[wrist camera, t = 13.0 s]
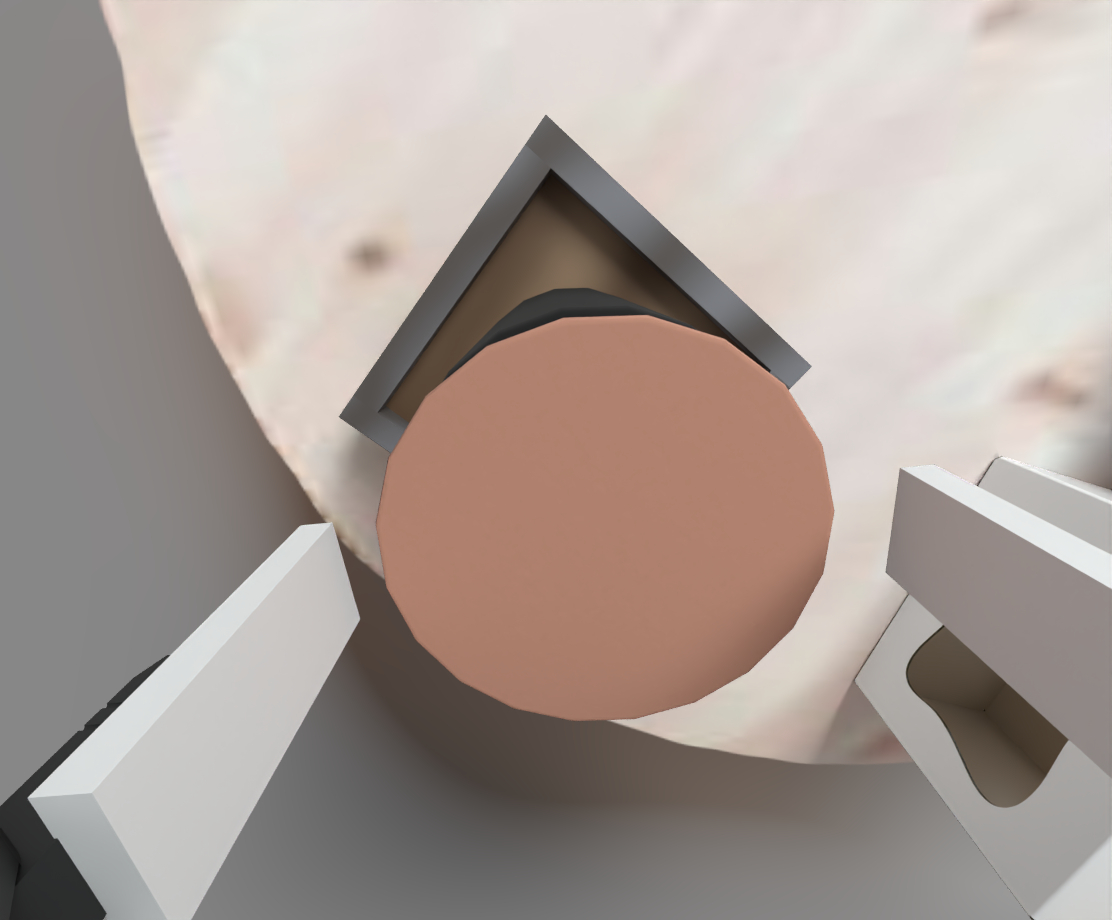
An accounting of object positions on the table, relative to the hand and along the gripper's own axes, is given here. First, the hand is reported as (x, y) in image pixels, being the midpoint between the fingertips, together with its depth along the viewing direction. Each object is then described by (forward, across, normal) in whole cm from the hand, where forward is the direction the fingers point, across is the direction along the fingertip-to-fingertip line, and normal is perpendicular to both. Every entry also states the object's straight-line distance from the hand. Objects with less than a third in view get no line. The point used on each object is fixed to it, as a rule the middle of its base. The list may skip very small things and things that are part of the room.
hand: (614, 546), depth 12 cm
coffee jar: (+18, 0, 0) cm, 18 cm away
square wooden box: (+24, +1, 0) cm, 24 cm away
